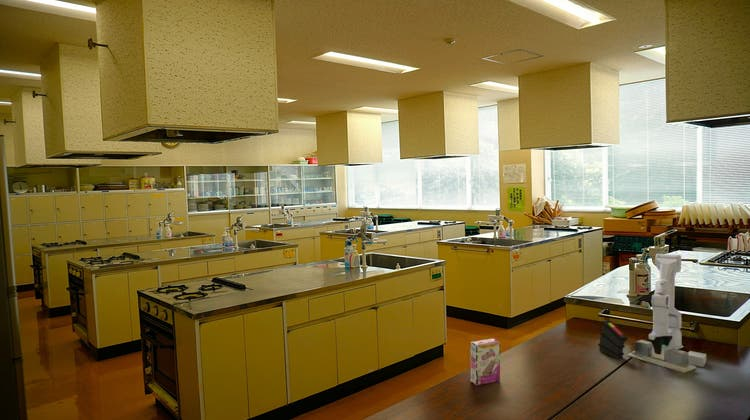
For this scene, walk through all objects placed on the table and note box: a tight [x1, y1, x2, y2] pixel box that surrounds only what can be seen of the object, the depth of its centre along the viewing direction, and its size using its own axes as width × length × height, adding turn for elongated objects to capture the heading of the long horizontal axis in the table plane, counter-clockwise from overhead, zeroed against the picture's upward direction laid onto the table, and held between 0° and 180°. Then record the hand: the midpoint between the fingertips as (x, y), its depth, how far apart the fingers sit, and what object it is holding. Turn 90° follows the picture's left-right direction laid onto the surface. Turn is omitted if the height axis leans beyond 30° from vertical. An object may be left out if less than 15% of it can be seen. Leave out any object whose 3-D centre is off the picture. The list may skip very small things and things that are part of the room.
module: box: [652, 344, 669, 360], centre depth 208 cm, size 4×5×5 cm
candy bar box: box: [469, 338, 501, 387], centre depth 192 cm, size 11×5×16 cm, turn 111°
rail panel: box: [627, 339, 697, 374], centre depth 208 cm, size 9×24×7 cm, turn 30°
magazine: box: [597, 320, 629, 360], centre depth 217 cm, size 4×13×15 cm, turn 19°
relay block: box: [688, 350, 707, 368], centre depth 205 cm, size 6×6×4 cm
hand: (660, 352), depth 208 cm, fingers closed on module, 4 cm apart
